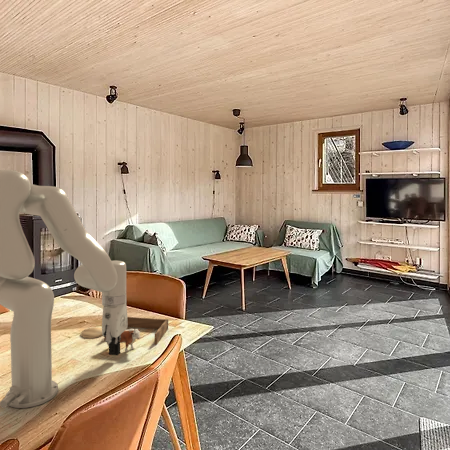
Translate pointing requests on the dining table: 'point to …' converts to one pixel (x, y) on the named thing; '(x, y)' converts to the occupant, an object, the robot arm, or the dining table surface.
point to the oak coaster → (92, 332)
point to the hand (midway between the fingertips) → (114, 353)
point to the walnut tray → (149, 325)
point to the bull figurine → (129, 337)
